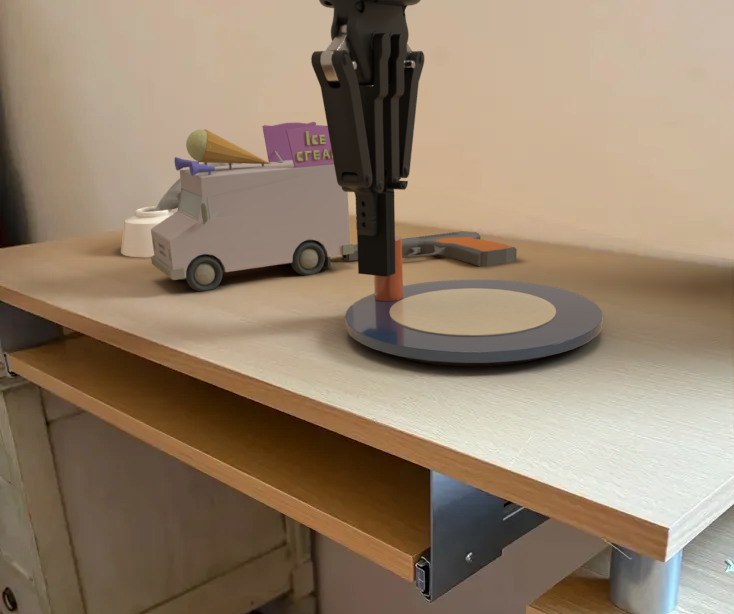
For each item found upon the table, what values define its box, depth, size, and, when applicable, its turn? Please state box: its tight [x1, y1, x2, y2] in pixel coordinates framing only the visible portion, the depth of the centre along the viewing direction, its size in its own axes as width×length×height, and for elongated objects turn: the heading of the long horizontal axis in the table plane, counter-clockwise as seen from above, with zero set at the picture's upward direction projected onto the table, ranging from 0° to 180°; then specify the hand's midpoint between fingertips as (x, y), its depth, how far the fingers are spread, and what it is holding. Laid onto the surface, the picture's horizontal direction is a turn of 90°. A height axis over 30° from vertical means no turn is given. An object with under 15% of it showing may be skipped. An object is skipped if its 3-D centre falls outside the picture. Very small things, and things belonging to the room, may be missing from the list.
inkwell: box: [120, 162, 242, 259], centre depth 102 cm, size 9×18×10 cm, turn 129°
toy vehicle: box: [150, 121, 355, 293], centre depth 84 cm, size 9×20×15 cm, turn 117°
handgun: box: [341, 230, 518, 268], centre depth 90 cm, size 2×16×12 cm
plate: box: [344, 235, 604, 363], centre depth 64 cm, size 20×20×6 cm
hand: (376, 273), depth 67 cm, fingers closed
